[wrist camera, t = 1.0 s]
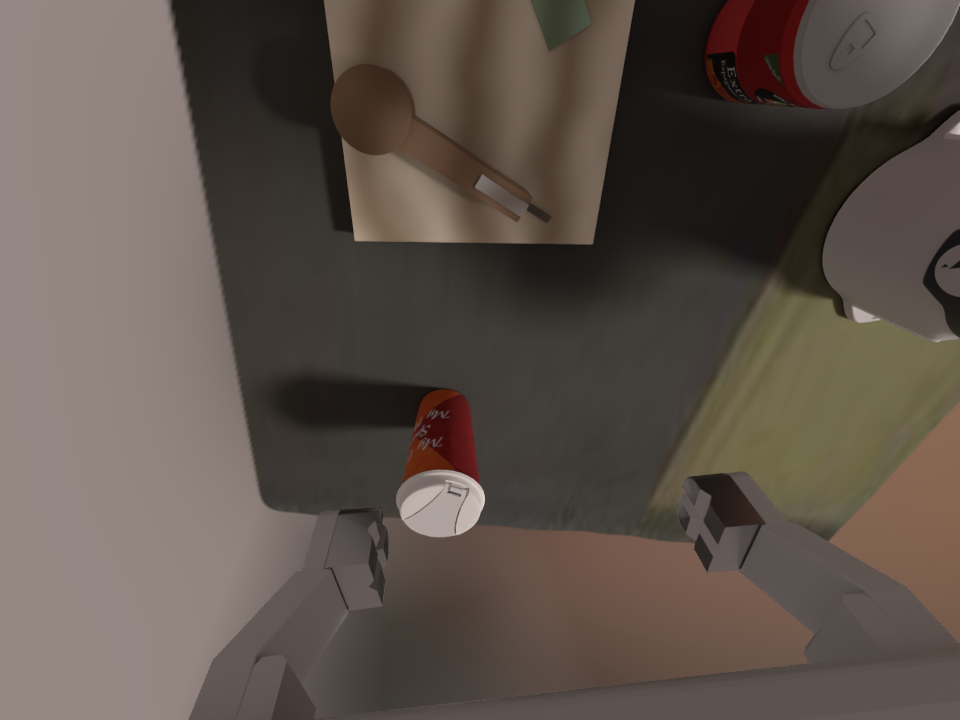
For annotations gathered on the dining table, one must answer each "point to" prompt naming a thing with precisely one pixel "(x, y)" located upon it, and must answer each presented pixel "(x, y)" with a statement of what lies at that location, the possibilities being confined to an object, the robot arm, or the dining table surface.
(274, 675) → the robot arm
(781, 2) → the canned food
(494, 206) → the wooden spoon
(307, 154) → the dining table surface
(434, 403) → the paper cup
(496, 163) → the cream flat square slab
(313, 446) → the dining table surface
